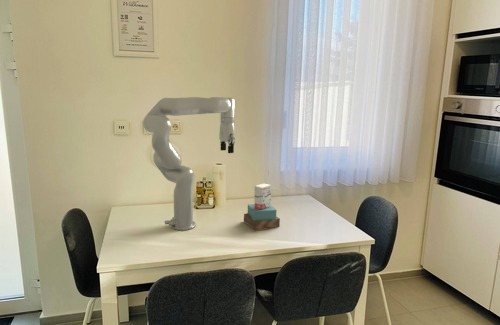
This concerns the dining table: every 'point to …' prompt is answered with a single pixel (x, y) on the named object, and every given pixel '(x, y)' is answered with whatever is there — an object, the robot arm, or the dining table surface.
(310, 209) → the dining table surface
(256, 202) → the ink box
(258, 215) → the teal top block
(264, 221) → the walnut base block
